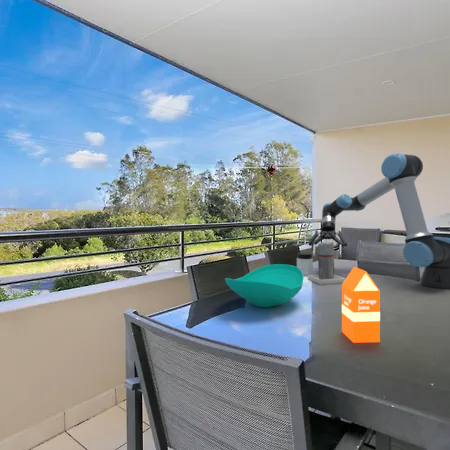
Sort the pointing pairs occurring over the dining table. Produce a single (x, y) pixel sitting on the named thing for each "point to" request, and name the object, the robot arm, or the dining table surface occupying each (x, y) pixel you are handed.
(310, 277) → the tray
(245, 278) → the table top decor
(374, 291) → the orange juice
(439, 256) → the robot arm
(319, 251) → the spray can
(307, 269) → the jar
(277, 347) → the dining table surface
